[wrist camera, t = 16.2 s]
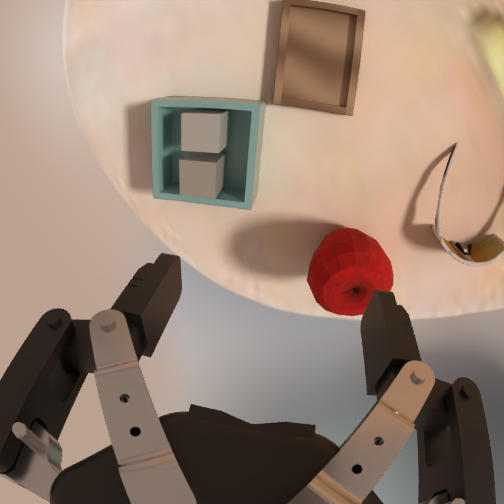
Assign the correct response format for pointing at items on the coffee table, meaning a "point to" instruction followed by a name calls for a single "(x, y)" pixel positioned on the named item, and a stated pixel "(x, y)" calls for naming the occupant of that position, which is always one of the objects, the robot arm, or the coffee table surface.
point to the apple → (348, 272)
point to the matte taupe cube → (205, 130)
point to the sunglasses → (475, 254)
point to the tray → (319, 56)
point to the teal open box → (238, 150)
